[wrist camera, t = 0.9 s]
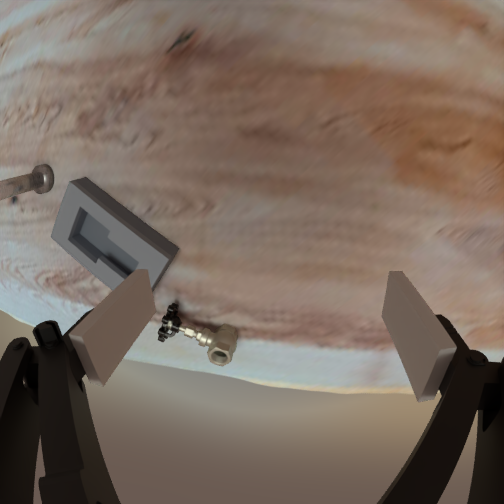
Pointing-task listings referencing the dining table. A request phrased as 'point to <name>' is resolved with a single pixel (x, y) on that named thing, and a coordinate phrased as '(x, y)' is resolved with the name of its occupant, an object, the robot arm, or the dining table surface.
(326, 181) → the dining table surface
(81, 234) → the keyhole board
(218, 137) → the dining table surface
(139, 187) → the dining table surface
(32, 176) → the flanged metal peg
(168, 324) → the valve
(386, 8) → the dining table surface
